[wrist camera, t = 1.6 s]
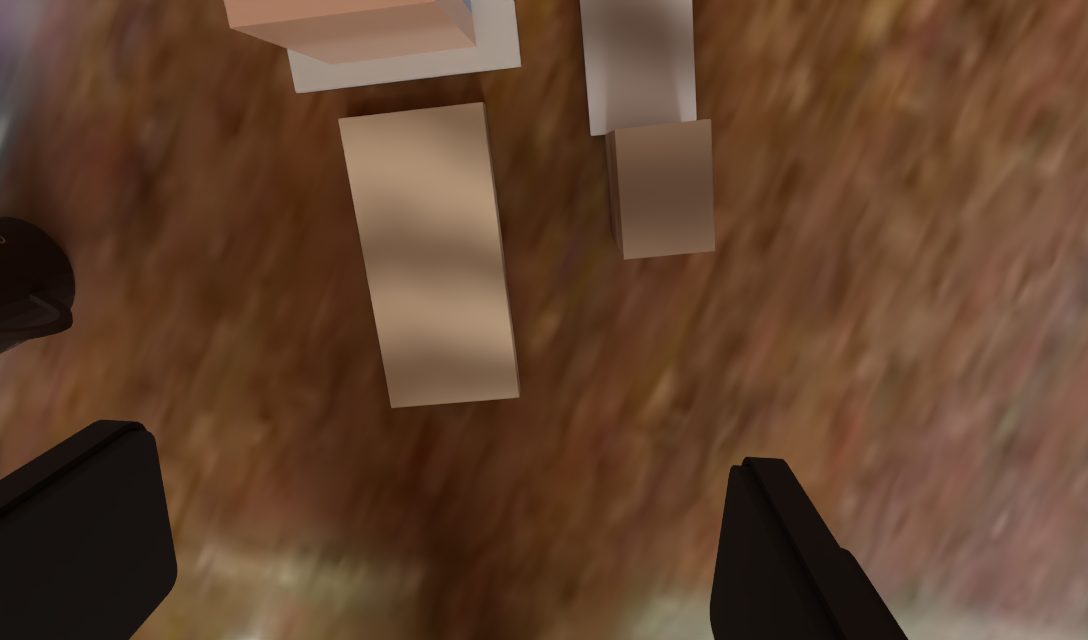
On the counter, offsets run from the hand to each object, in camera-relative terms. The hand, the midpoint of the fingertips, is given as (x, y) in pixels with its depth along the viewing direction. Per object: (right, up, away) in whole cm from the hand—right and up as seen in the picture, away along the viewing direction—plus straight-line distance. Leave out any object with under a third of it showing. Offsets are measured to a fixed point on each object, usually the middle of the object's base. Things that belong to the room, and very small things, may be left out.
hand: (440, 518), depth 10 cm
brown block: (+6, +14, +19) cm, 25 cm away
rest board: (-4, +6, +22) cm, 23 cm away
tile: (-5, +17, +19) cm, 26 cm away
